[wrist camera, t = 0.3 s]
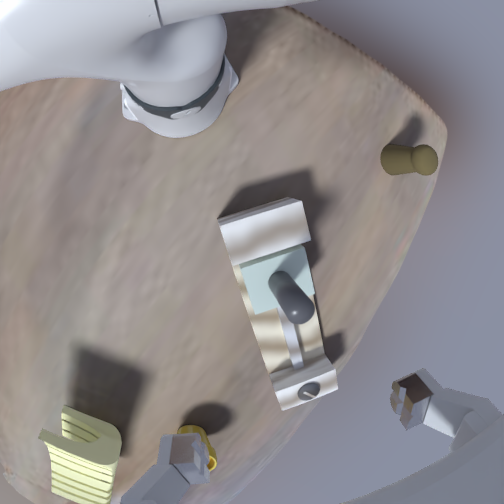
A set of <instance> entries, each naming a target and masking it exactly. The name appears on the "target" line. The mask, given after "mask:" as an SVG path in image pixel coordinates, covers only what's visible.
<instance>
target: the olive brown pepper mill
mask: <svg viewBox="0 0 504 504" xmlns="http://www.w3.org/2000/svg"><path fill="white" fill-rule="evenodd" d="M381 164H382V167H383V169H384V170H385V171H386V172H387V173H388V174H390V175H399V174H406V173H413V172H417V173H419V174H421V175H431V174H433V173H434V172H435V171H436V169H437V166H438V157H437V154H436V152H435V150H434V149H433V148H432V147H430V146H428V145H418V146H416V147H408V146H401V145H394V144H389V145H387V146H385V147H384V148H383V150H382V152H381Z"/></svg>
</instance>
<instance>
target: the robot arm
mask: <svg viewBox="0 0 504 504" xmlns="http://www.w3.org/2000/svg"><path fill="white" fill-rule="evenodd" d="M312 1H319V0H0V92H1V91H3V90H6V89H9V88H12V87H15V86H18V85H21V84H25V83H29V82H33V81H38V80H43V79H51V78H64V77H81V78H95V79H105V80H113V81H119V82H120V88H121V90H122V111H123V115H124V117H125V118H126V119H128V120H131V121H135V122H140V123H142V124H144V125H145V126H146V127H148V128H149V129H150V130H152V131H153V132H155V133H157V134H159V135H162V136H166V137H173V138H179V137H187V136H191V135H194V134H196V133H199V132H201V131H202V130H204V129H206V128H207V127H208V126H210V125H211V124H212V123H213V122H214V121H215V120H216V119H217V117H218V116H219V114H220V113H221V111H222V109H223V106H224V104H225V101H226V98H227V96H228V95H229V94H230V93H231V92H232V91H233V90H234V89H235V88H236V86H237V85H238V81H239V79H238V76H237V75H236V73H235V71H234V69H233V68H232V66H231V64H230V63H229V61H228V59H227V57H226V56H225V54H224V51H225V46H226V42H227V29H226V24H225V21H224V19H223V17H222V15H221V13H228V12H236V11H244V10H254V9H267V8H278V7H283V6H288V5H294V4H299V3H306V2H312ZM392 389H393V390H394V391H393V393H392V394H391V397H390V400H391V406H392V408H393V410H394V412H395V413H396V414H399V415H401V417H400V421H401V423H402V424H403V426H404V427H405V429H406V430H408V429H410V428H412V427H414V426H416V425H418V424H421V423H423V424H426V425H428V426H430V427H432V428H434V429H436V430H438V431H440V432H443V433H445V434H447V435H449V436H451V437H454V439H453V441H452V443H451V445H450V447H449V450H450V452H451V453H450V454H448V455H446V456H445V457H443V458H441V459H440V460H438V461H436V462H434V463H433V464H431V465H429V466H427V467H425V468H424V469H422V470H420V471H418V472H416V473H414V474H412V475H410V476H408V477H406V478H404V479H402V480H400V481H398V482H395V483H393V484H391V485H389V486H386V487H384V488H382V489H379V490H377V491H374V492H372V493H369V494H367V495H364V496H362V497H358V498H356V499H353V500H350V501H347V502H344V503H341V504H504V414H502V413H501V412H500V411H499V410H498V409H497V408H496V407H495V406H494V405H493V404H492V403H491V401H490V400H489V399H487V398H483V397H479V396H475V395H471V394H467V393H463V392H460V391H456V390H452V389H449V388H445V389H443V388H442V387H441V386H440V384H439V383H438V382H437V381H436V380H435V379H434V378H433V377H432V376H431V375H430V374H429V372H428V371H427V370H426V369H424V368H422V369H420V370H418V371H416V372H414V373H411V374H409V375H407V376H405V377H402V378H400V379H398V380H396V381H394V382H393V384H392ZM208 463H209V452H208V448H207V446H206V444H205V443H204V442H202V441H201V436H200V434H199V433H185V434H168V435H163V436H162V437H161V441H160V447H159V453H158V459H157V465H153V466H152V467H151V468H150V469H149V470H148V471H147V472H146V473H145V474H144V475H143V476H142V477H141V478H140V479H139V480H138V481H137V482H136V483H135V484H134V485H133V486H132V487H131V488H130V489H129V490H128V491H127V492H126V493H125V494H124V495H123V496H122V498H121V503H120V504H178V503H179V501H180V500H181V498H182V497H183V495H184V494H185V492H186V491H187V490H188V488H189V487H190V484H202V483H209V469H208V468H207V465H208Z"/></svg>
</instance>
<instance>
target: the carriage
mask: <svg viewBox="0 0 504 504" xmlns="http://www.w3.org/2000/svg"><path fill="white" fill-rule="evenodd" d="M239 267H240V270H241V274H242V277H243V280H244V283H245V286H246V289H247V292H248V295H249V299H250V302H251V305H252V308H253V310H254V313H255V315H256V314H259V313H262V312H265V311H268V310H271V309H274V308H277V307H280V306H281V308H282V310H283V311H284V313H285V315H286V316H287V318H288V320H289V321H290V322H291V323H293V324H298V325H299V324H304V323H306V322H308V321H309V320H310V319H311V318H312V317H313V315H314V312H315V306H314V303H313V302H312V301H311V299H310V298H309V297H308V296H310V295H313V294H315V292H314V287H313V283H312V278H311V273H310V269H309V264H308V260H307V255H306V251H305V247H303V246H302V245H301V244H298V245H295V246H292V247H289V248H286V249H283V250H280V251H277V252H274V253H271V254H268V255H265V256H262V257H259V258H256V259H253V260H250V261H247V262H244V263H241V264H239Z"/></svg>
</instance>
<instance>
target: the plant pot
mask: <svg viewBox="0 0 504 504" xmlns="http://www.w3.org/2000/svg"><path fill="white" fill-rule="evenodd" d="M185 433H199V434H200V436H201V441H202V442H204V443H205V444H206V446H207V448H208V452H209V463H208V465H207V468H208V469H209V471H211V470H213V469H214V468H215V467H216V465H217V457H216V452H215V450H214V448H213V447H211V445H210V443H209V440H208V438H207V435H206V433H205V431H204V429H202V428H201V427H199V426H196V425H185V426H182V427H181V428H179V430H178V432H177V434H185Z"/></svg>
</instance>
